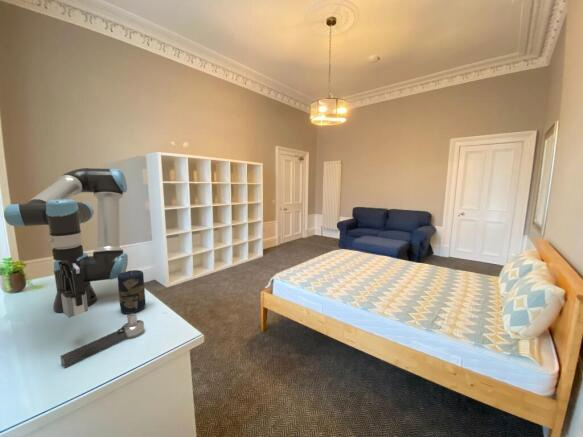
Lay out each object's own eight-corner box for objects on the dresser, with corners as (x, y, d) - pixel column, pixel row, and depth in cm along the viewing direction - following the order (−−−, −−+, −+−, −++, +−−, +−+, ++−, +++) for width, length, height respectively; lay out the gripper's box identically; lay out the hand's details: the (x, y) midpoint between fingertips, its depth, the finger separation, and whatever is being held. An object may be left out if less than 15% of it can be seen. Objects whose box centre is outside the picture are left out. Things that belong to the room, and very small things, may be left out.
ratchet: (59, 361, 77) (56, 340, 76) (138, 325, 97) (136, 308, 96) (67, 370, 73) (64, 348, 72) (147, 331, 93) (146, 313, 92)
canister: (118, 317, 103) (115, 276, 101) (122, 307, 111) (118, 269, 109) (145, 311, 107) (142, 272, 105) (146, 302, 116) (143, 265, 113)
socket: (63, 313, 84) (60, 293, 83) (82, 306, 89) (80, 287, 88) (69, 317, 82) (66, 297, 80) (88, 310, 86) (86, 291, 85)
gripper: (43, 244, 83) (52, 308, 87) (62, 253, 74) (72, 324, 77) (71, 240, 89) (79, 299, 93) (92, 247, 80) (100, 314, 83)
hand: (76, 310), depth 85 cm, fingers closed on socket, 5 cm apart
